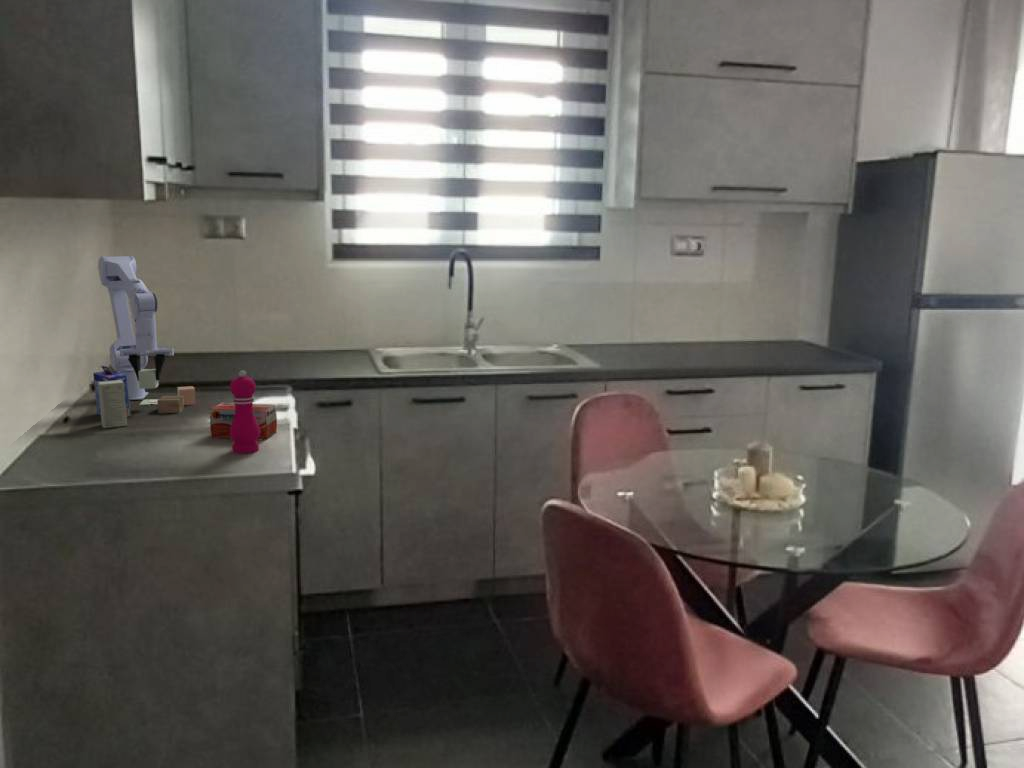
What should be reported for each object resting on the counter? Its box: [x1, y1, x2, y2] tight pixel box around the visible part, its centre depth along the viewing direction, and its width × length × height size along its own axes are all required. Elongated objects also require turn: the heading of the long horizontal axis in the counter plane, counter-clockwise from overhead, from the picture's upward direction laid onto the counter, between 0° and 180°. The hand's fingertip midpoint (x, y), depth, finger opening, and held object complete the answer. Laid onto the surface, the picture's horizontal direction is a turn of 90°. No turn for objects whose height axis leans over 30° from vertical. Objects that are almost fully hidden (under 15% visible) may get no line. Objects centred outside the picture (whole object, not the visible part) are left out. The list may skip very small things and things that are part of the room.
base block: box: [157, 395, 185, 414], centre depth 254 cm, size 6×6×4 cm
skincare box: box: [98, 380, 128, 429], centre depth 234 cm, size 6×4×12 cm
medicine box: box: [209, 402, 278, 440], centre depth 227 cm, size 15×8×8 cm, turn 87°
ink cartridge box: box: [92, 365, 131, 418], centre depth 246 cm, size 10×6×14 cm, turn 51°
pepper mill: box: [229, 369, 260, 454], centre depth 212 cm, size 7×7×20 cm
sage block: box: [138, 368, 160, 390], centre depth 255 cm, size 4×4×5 cm
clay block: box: [177, 385, 197, 406], centre depth 263 cm, size 4×4×5 cm
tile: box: [139, 398, 159, 406], centre depth 264 cm, size 7×7×1 cm
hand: (148, 380), depth 255 cm, fingers closed on sage block, 4 cm apart
